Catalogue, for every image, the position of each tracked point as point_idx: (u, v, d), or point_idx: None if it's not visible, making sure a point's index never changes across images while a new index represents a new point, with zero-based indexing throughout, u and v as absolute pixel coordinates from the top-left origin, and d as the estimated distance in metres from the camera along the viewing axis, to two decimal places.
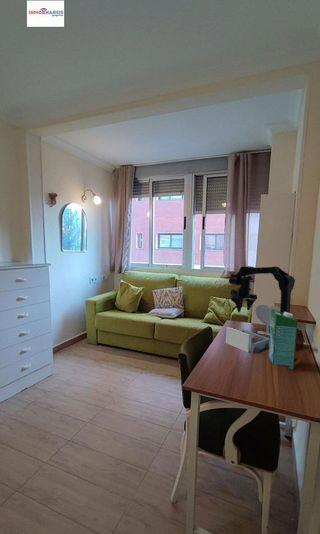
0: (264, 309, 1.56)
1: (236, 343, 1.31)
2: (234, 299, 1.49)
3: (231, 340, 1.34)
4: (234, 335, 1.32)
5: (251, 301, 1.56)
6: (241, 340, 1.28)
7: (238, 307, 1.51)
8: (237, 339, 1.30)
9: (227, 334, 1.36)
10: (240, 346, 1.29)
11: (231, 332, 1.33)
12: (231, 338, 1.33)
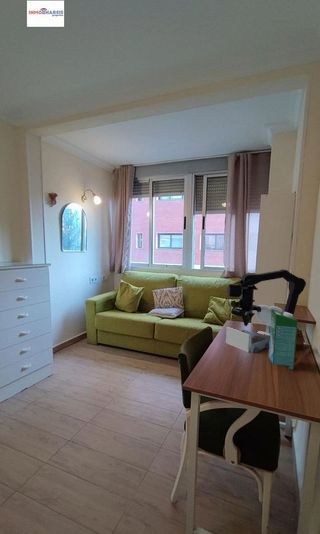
0: (264, 309, 1.56)
1: (236, 343, 1.31)
2: (235, 312, 1.28)
3: (231, 340, 1.34)
4: (234, 335, 1.32)
5: None
6: (241, 340, 1.28)
7: (245, 320, 1.33)
8: (237, 339, 1.30)
9: (227, 334, 1.36)
10: (240, 346, 1.29)
11: (231, 332, 1.33)
12: (231, 338, 1.33)
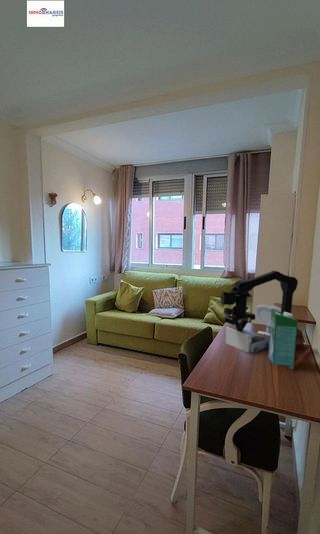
0: (264, 309, 1.56)
1: (236, 343, 1.31)
2: (228, 320, 1.25)
3: (231, 340, 1.34)
4: (233, 335, 1.32)
5: None
6: (241, 340, 1.28)
7: (238, 328, 1.30)
8: (237, 339, 1.30)
9: (226, 335, 1.36)
10: (240, 346, 1.29)
11: (230, 332, 1.33)
12: (231, 338, 1.33)
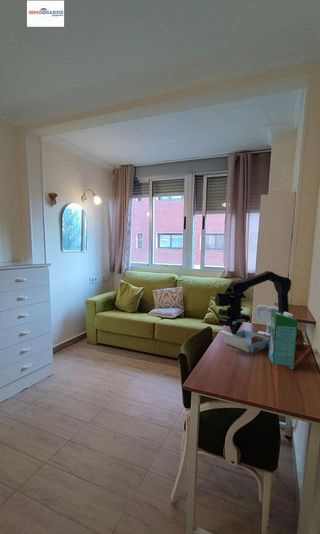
0: (264, 309, 1.56)
1: (235, 344, 1.30)
2: (222, 322, 1.23)
3: (229, 341, 1.33)
4: (230, 338, 1.30)
5: None
6: (238, 343, 1.27)
7: (232, 330, 1.28)
8: (234, 342, 1.29)
9: (224, 337, 1.34)
10: (239, 347, 1.29)
11: (226, 336, 1.31)
12: (229, 340, 1.32)
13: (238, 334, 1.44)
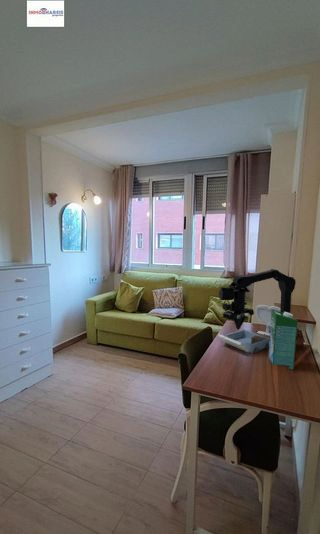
0: (264, 309, 1.56)
1: (234, 346, 1.30)
2: (226, 316, 1.24)
3: (228, 343, 1.33)
4: (228, 341, 1.29)
5: None
6: (236, 345, 1.26)
7: (237, 323, 1.29)
8: (233, 344, 1.29)
9: (222, 339, 1.34)
10: (238, 348, 1.29)
11: (224, 339, 1.31)
12: (227, 342, 1.32)
13: (238, 334, 1.44)
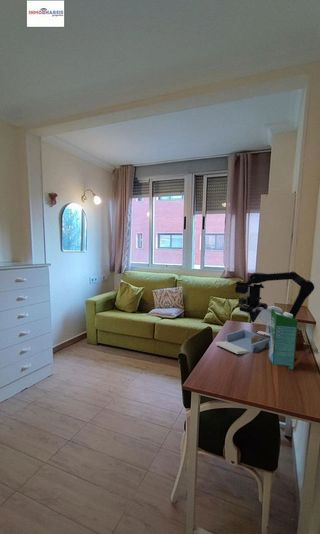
0: (264, 309, 1.56)
1: None
2: (243, 309, 1.35)
3: None
4: None
5: None
6: None
7: (252, 316, 1.40)
8: None
9: None
10: None
11: None
12: None
13: (238, 334, 1.44)
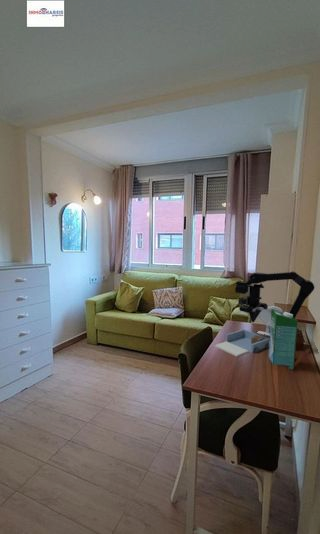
0: (264, 309, 1.56)
1: None
2: (243, 309, 1.35)
3: None
4: None
5: None
6: None
7: (252, 316, 1.40)
8: None
9: None
10: None
11: None
12: None
13: (238, 334, 1.44)
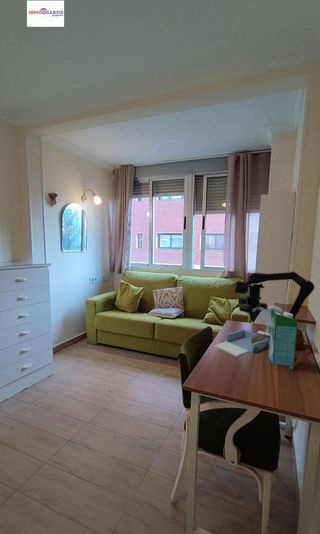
0: (264, 309, 1.56)
1: None
2: (243, 309, 1.35)
3: None
4: None
5: None
6: None
7: (252, 316, 1.40)
8: None
9: None
10: None
11: None
12: None
13: (238, 334, 1.44)
